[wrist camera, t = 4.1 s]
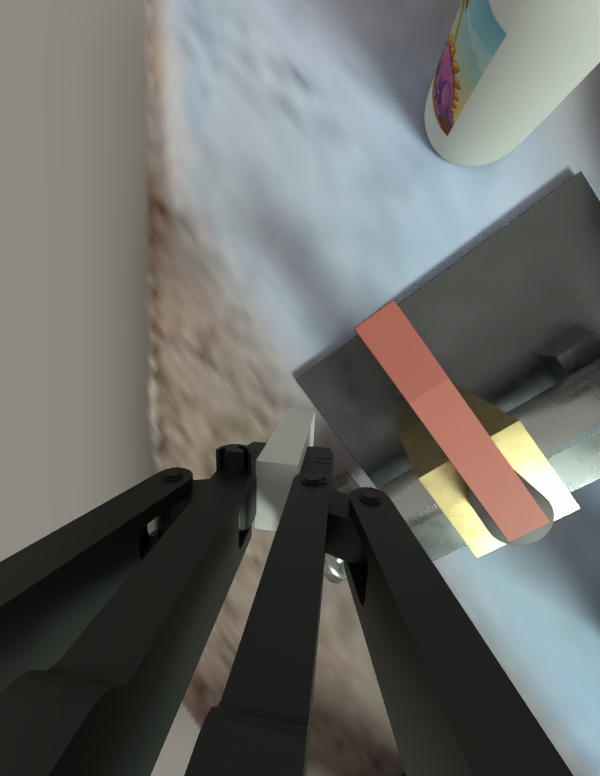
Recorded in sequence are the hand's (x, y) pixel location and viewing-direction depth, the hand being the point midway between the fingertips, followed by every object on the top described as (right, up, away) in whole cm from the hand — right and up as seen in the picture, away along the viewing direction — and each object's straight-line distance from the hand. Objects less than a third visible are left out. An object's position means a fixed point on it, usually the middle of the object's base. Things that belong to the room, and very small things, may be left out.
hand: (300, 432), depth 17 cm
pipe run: (+14, 0, +10) cm, 18 cm away
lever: (+9, +1, +2) cm, 9 cm away
